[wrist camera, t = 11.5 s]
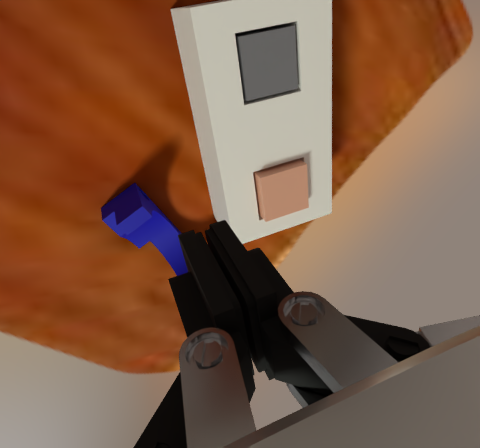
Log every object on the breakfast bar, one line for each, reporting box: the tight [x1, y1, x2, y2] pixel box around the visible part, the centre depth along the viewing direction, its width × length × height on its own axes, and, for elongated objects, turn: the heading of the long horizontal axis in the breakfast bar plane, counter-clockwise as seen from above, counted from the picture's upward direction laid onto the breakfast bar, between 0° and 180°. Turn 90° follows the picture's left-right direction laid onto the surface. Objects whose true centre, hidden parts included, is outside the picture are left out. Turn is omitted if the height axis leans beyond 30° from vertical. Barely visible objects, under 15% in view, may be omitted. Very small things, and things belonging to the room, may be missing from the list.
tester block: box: [171, 0, 332, 244], centre depth 36 cm, size 22×12×7 cm, turn 8°
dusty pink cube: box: [253, 159, 309, 222], centre depth 39 cm, size 5×5×6 cm
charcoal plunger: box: [235, 25, 298, 101], centre depth 33 cm, size 5×5×6 cm
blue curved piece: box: [101, 183, 188, 276], centre depth 39 cm, size 12×4×6 cm, turn 31°
